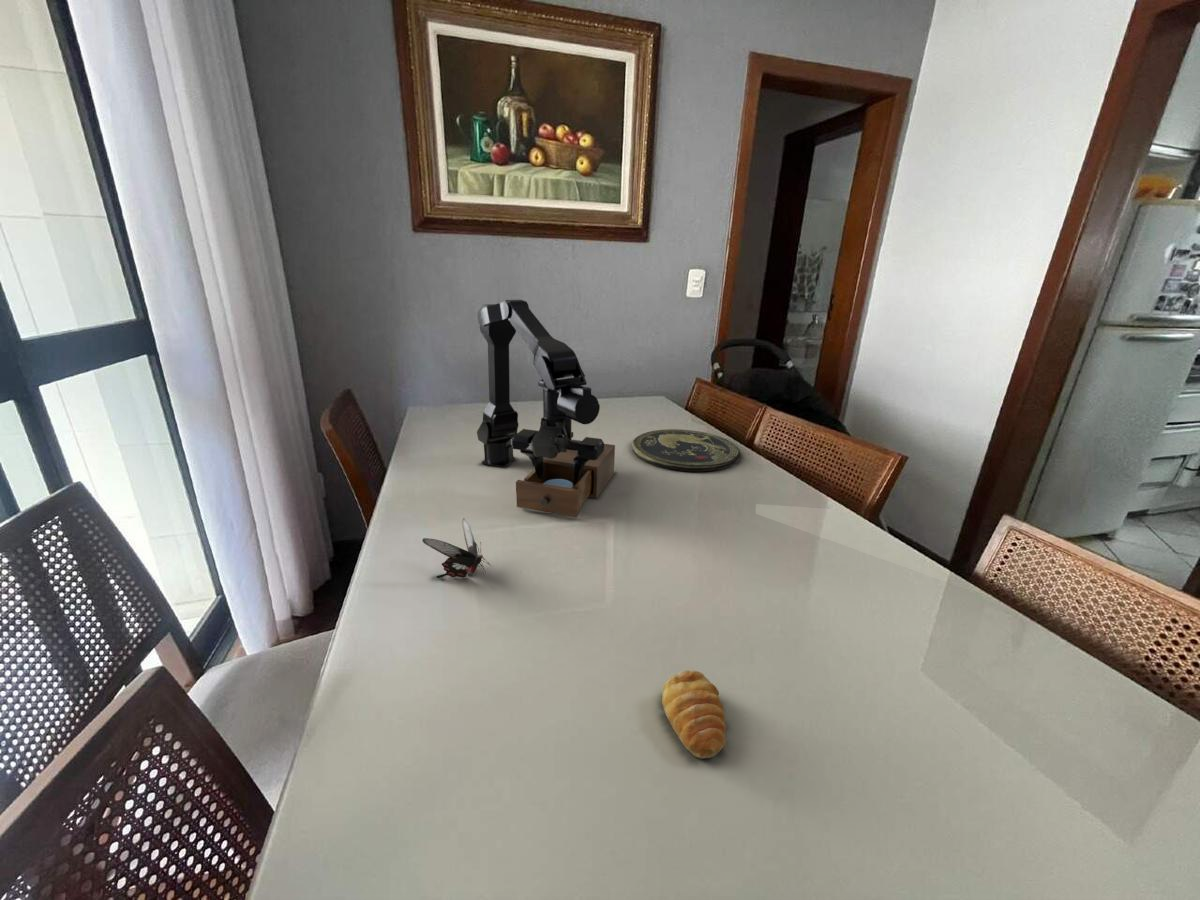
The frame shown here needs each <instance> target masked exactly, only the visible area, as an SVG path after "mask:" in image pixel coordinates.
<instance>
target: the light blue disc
mask: <svg viewBox="0 0 1200 900" xmlns="http://www.w3.org/2000/svg"><path fill="white" fill-rule="evenodd" d="M543 484H548V485H554V486H560V487H567V488H573V484H572V482H570V481H568V480H564V479H552V480H548V481H546V482H544V483H543Z"/></svg>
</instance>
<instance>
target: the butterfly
mask: <svg viewBox="0 0 1200 900" xmlns="http://www.w3.org/2000/svg"><path fill="white" fill-rule="evenodd" d="M461 524H462V530H463V536H464V540H465V544H466V549H467V550H465V549H463V548H461V547H459V546H456V545H454V544H452V543H449V542H447V541H443V540H439V539H435V538H429V537H428V538H425V537H423V538H422V540H421V541H422V543H423V544H424V545H426V546H427V547H429V548H431V549H433V550H435V551H436V552H438V553H440V554H442V555H444V556H446V557H447V559H445V561H444V562H442V563H441V566H442V567H443V571H444V572H445V573H442V574H439V575H436V576H435V577H436V578H437V579H442V578H444V577H447V576H448V577H451V578H457V577H458V578H466V577H467V576H468V575H469V574H470V573H471V574H472V575H473V574H475V573H476V571H477V569H478V568H480V570H481V572H482V573H483V574H485V573H484V572H486V570H485V566H484V564H483V563H485V564H487V565H490V566H491V563H489V562H487V560H486V558H485V557H484V555H483V554H481V553H482V549H480V548H479V546H478V544H477V542H476V540H475V538H474V535H473V531H472V529H471V526H470V525H469V523H468V521H467V519H466V518H465V517H463V518H462V520H461ZM479 544H480V545H482V542H481V541H479Z"/></svg>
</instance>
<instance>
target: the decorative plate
mask: <svg viewBox="0 0 1200 900" xmlns="http://www.w3.org/2000/svg"><path fill="white" fill-rule="evenodd" d="M631 450H632V452H633V454H634V455H635V456H636V457H638V458H639V459H641V460H643V461H645V462H646V463H649V464H651V465H654V466H657V467H662V468H665V469H669V470H677V471H684V472H713V471H718V470H720V471H721V470H723V469H727V468H730V467H732V466H735V464H736V463H737V462H739V460H740V458H741V450H740V449H739V447H738V445H736V444H735V443H733V442H732V441H730V440H729V439H727V438H725V437H722V436H719V435H716V434H713V433H708V432H705V431H700V430H699V431H698V430H692V429H691V430H690V429H681V428H679V429H677V428H675V429H674V428H672V429H670V428H669V429H668V428H667V429H655V430H650V431H646V432H644V433H641V434H639V435H638V436H636V437H635V438H634V439H633V441H632V443H631Z"/></svg>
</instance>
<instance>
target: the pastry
mask: <svg viewBox="0 0 1200 900" xmlns="http://www.w3.org/2000/svg"><path fill="white" fill-rule="evenodd" d="M719 695H720V691H719V690H718V688H717V687H716V685H715V684H714V683H712V682H711V681H710V680H709V679H708V678H707V677H706V676H705V674H704V673H703V672H701V671H698V670H683V671H681V672H680V673H677V674H674V675H672V676H671V677H670V678H668V680H667V681H666V682H665V683H664V684H663V686H662V698H661V703H662V708H663V710H664V713H665V716H666V718H667V720H668V721H669V723H670V725H671V727H672V729H673V731H674V732H675V734H676V735H677V738H678V739H679V740H680V742H681V743H682V745H683V746H684V748H685V749H686V751H689V753H690V754H691V755H693V756H694V757H696V758H698V759H710V758H714V757H715V756H716V755H718V754H719V753H720V751H721V750H722V749H723V748H724V747H725V745H726V743H727V741H726V740H727V739H726V732H727V731H726V730H727V725H726V717H725V707H724V705H723V703H722V701H721V699H720V697H719Z"/></svg>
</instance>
